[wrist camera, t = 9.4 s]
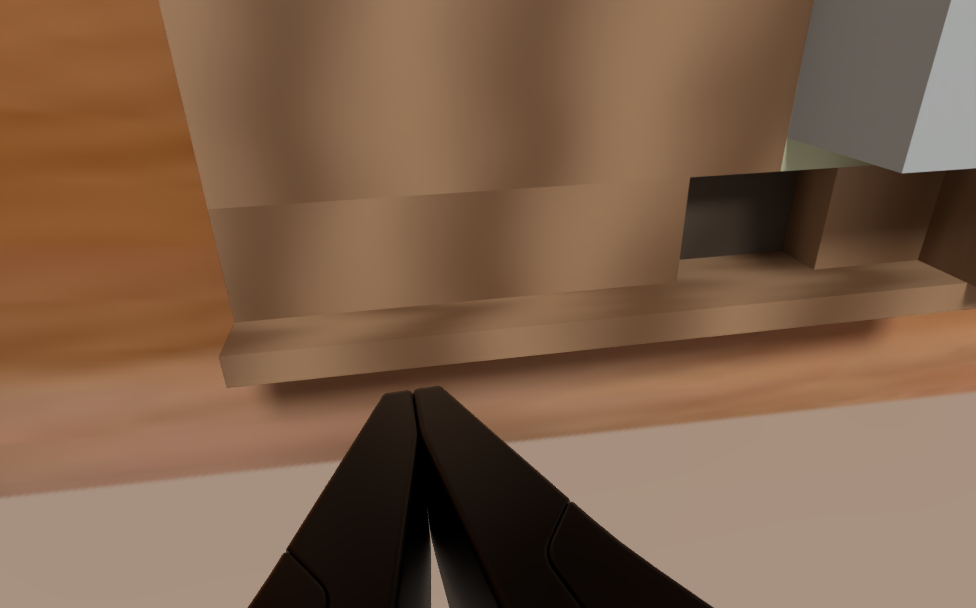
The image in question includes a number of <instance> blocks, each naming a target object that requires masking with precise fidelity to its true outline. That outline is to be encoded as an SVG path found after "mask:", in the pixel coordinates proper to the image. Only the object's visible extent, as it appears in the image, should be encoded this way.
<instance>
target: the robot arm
mask: <svg viewBox="0 0 976 608" xmlns="http://www.w3.org/2000/svg"><path fill="white" fill-rule="evenodd" d="M427 511H428V512H427ZM428 519H429V521H428ZM429 525H430V532H431V538H432V543H433V547H434V551H435V555H436V559H437V563H438V566H439V570H440V574H441V578H442V581H443V585H444V589H445V592H446V596H447V600H448V604H449V607H450V608H713V607H712V606H710V605H709V604H707V603H706V602H704V601H703V600H702V599H700V598H699V597H697V596H696V595H695V594H693V593H692V592H690V591H689V590H687V589H686V588H684V587H683V586H682V585H680V584H678V583H677V582H676V581H674V580H673V579H671V578H670V577H669V576H667V575H666V574H664V573H663V572H661V571H660V570H658V569H657V568H655V567H654V566H653V565H651V564H650V563H649V562H647V561H646V560H645V559H643V558H642V557H640V556H639V555H638V554H636V553H635V552H634V551H632V550H631V549H629V548H628V547H627V546H625V545H624V544H623V543H621V542H620V541H619V540H617V539H616V538H615V537H614V536H613V535H611V534H610V533H609V532H608V531H606V530H605V529H604V528H603V527H602V526H600V525H599V524H598V523H597V522H595V521H594V520H593V519H592V518H591V517H590V516H588V515H587V514H586V513H585V512H584V511H583V510H582V509H580V508H579V507H578V506H577V505H576V504H575V503H573V502H570V500H569V498H568V497H566V496H565V495H564V494H563V493H562V492H561V491H560V490H558V489H557V488H556V487H555V486H554V485H553V484H552V483H551V482H549V481H548V480H547V479H546V478H545V477H544V476H543V475H541V474H540V473H539V472H538V471H537V470H536V469H534V468H533V467H532V466H531V465H530V464H529V463H528V462H527V461H525V460H524V459H523V458H522V457H521V456H520V455H519V454H517V453H516V452H515V451H514V450H513V449H512V448H511V447H509V446H508V445H507V444H506V443H505V442H504V441H503V440H501V439H500V438H499V437H498V436H497V435H496V434H495V433H493V432H492V431H491V430H490V429H489V428H488V427H487V426H486V425H484V424H483V423H482V422H481V421H480V420H479V419H478V418H476V417H475V416H474V415H473V414H472V413H471V412H470V411H468V410H467V409H466V408H465V407H464V406H463V405H462V404H460V403H459V402H458V401H457V400H456V399H455V398H454V397H452V396H451V395H450V394H449V393H448V392H447V391H446V390H444V389H443V388H442V387H440V386H434V387H427V388H420V389H416V390H415V391H414V392H413V394H412V392H411V391H408V390H406V391H399V392H392V393H386V394H384V395H383V396H382V398H381V399H380V401H379V403H378V404H377V406H376V407H375V409H374V411H373V412H372V414H371V415H370V417H369V419H368V420H367V422H366V423H365V425H364V426H363V428H362V430H361V431H360V433H359V434H358V436H357V438H356V439H355V441H354V442H353V444H352V446H351V447H350V449H349V450H348V452H347V453H346V455H345V457H344V458H343V460H342V461H341V463H340V465H339V466H338V468H337V469H336V471H335V473H334V474H333V476H332V477H331V479H330V481H329V482H328V484H327V485H326V487H325V489H324V490H323V492H322V493H321V495H320V497H319V498H318V500H317V501H316V503H315V504H314V506H313V508H312V509H311V511H310V512H309V514H308V515H307V517H306V519H305V520H304V522H303V524H302V525H301V527H300V528H299V530H298V532H297V533H296V535H295V536H294V538H293V540H292V541H291V543H290V544H289V546H288V547H287V549H286V553H284V554H283V555H282V556H281V558H280V559H279V561H278V563H277V564H276V566H275V568H274V569H273V571H272V572H271V574H270V575H269V577H268V579H267V580H266V581H265V583H264V584H263V586H262V587H261V589H260V590H259V592H258V593H257V595H256V596H255V598H254V599H253V601H252V602H251V604H250V605H249V607H248V608H431V545H430V532H429Z"/></svg>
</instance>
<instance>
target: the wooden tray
mask: <svg viewBox="0 0 976 608" xmlns="http://www.w3.org/2000/svg"><path fill="white" fill-rule="evenodd" d="M813 3H814V0H159V5H160V9H161V13H162V17H163V22H164V26H165V30H166V34H167V39H168V43H169V47H170V51H171V56H172V60H173V64H174V68H175V73H176V77H177V81H178V85H179V90H180V94H181V98H182V102H183V107H184V111H185V115H186V119H187V124H188V128H189V132H190V136H191V140H192V145H193V149H194V153H195V157H196V162H197V166H198V170H199V174H200V179H201V183H202V187H203V191H204V196H205V200H206V204H207V208H208V213H209V217H210V221H211V225H212V230H213V234H214V238H215V242H216V247H217V251H218V255H219V259H220V264H221V268H222V272H223V276H224V281H225V285H226V289H227V293H228V298H229V302H230V306H231V310H232V315H233V319H234V325H233V327H232V329H231V331H230V333H229V336H228V338H227V340H226V342H225V344H224V347H223V349H222V351H221V353H220V355H219V360H220V364H221V368H222V371H223V375H224V379H225V383H226V387H227V388H231V387H241V386H250V385H260V384H269V383H279V382H288V381H297V380H307V379H316V378H326V377H335V376H345V375H354V374H363V373H373V372H382V371H392V370H401V369H411V368H420V367H429V366H439V365H448V364H458V363H467V362H477V361H486V360H496V359H505V358H514V357H524V356H533V355H543V354H552V353H562V352H571V351H580V350H590V349H599V348H609V347H618V346H628V345H637V344H646V343H656V342H665V341H675V340H684V339H694V338H703V337H713V336H722V335H731V334H741V333H750V332H760V331H769V330H779V329H788V328H797V327H807V326H816V325H826V324H835V323H845V322H854V321H863V320H873V319H882V318H892V317H901V316H911V315H920V314H930V313H939V312H948V311H958V310H967V309H976V168H972V169H958V170H944V171H929V172H915V173H899V172H896V171H892V170H889V169H886V168H883V167H879V166H876V165H873V164H870V163H866V162H863V161H860V160H857V159H853V158H850V157H847V156H844V155H841V154H837V153H834V152H831V151H828V150H824V149H821V148H818V147H815V146H811V145H808V144H805V143H802V142H798V141H795V140H792V139H789V138H787V136H788V131H789V126H790V120H791V115H792V110H793V105H794V100H795V95H796V90H797V85H798V79H799V74H800V69H801V64H802V59H803V54H804V49H805V44H806V38H807V33H808V28H809V23H810V18H811V13H812V8H813Z"/></svg>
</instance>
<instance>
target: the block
mask: <svg viewBox="0 0 976 608" xmlns="http://www.w3.org/2000/svg"><path fill="white" fill-rule="evenodd" d="M787 138H789V139H792V140H795V141H798V142H802V143H805V144H808V145H811V146H815V147H818V148H821V149H824V150H828V151H831V152H834V153H837V154H841V155H844V156H847V157H850V158H853V159H857V160H860V161H863V162H866V163H870V164H873V165H876V166H879V167H883V168H886V169H889V170H892V171H896V172H899V173H915V172H929V171H944V170H958V169H972V168H976V0H814V3H813V8H812V13H811V18H810V23H809V28H808V33H807V38H806V44H805V49H804V54H803V59H802V64H801V69H800V74H799V79H798V85H797V90H796V95H795V100H794V105H793V110H792V115H791V120H790V126H789V131H788V136H787Z"/></svg>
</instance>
